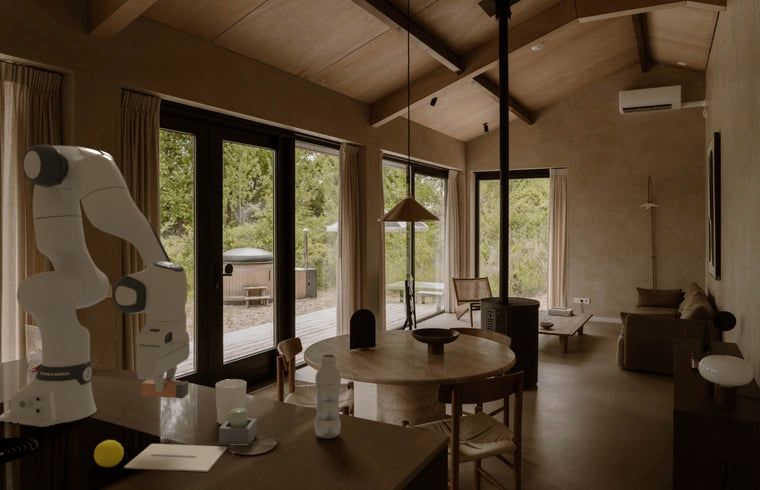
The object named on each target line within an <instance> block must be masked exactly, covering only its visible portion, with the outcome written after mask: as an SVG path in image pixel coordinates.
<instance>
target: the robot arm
mask: <svg viewBox="0 0 760 490" xmlns="http://www.w3.org/2000/svg"><path fill="white" fill-rule="evenodd" d="M22 170H23V173H24V175H25V177H26V179H27V180H28V181H29V182H30V183H32V184H34V186H33V187H34V188H33V194H32V195H33V196H32V216H33V217H32V219H33V225H34V226H33V227H34V234H35V244H36V248H37V250H38V252H39V253H41V254H43V255H44V256H45V257H46V258H47V259H49V261H50V262H51V264H52V266H53V269H54V270H52V271H42V272H39V273H36V274H33V275H30V276H28V277H26V278H24V279H23V280H22V281H21V282H20V283H19V285H18V287H17V291H16V299H17V302H18V304H19V306H20V308H21V309H22V310H23V311H25V313H27V314H29V316H31V317H32V318H33V320H34V321H35V323H36V325H37V327H38V329H39V333H40V338H41V364H39V365H37V366H34V367H32V368H31V370H32V371H31V374H32V373H36V374H35V378H33V379H32V380H30V381H29V382H28V383H27V384H25V385H24V386H23V387H22V388H20V389H19V390H17V391H16V392H15V393H14V394H13V396H12V397H11V400H10V406H9V409H7V410H6V411H5V412H2V414H0V422H2V421H4V422H3V423H9V422H12V423H11V424H17V423H19V424H18V425H24V426H25V425H26V426H32V427H33V426H34V427H43V428H45V426H46V427H50V425H51V426H53V425H58V424H63V423H70V422H75V421H78V420H82V419H84V418H88V417H90V416H92V415H94V414H95V413H96V412H97V406H96V404H95V399H94V395H93V389H92V377H93V376H92V374H93V372H92V371H93V366H92V365H93V363H92V358H91V344H90V343H91V334H90V331H89V330H88V328H86V327H85V326H83V325H81V323H80V321H79V320H78V317H77V310H79V309H84V308H89V307H92V306H94V305H96V304H98V303H100V302H103V301H104V300H105V299H106V298H107V296H108V294H109V293H110V286H111V285H110V281H109V278H108V276H107V275H106V274H105V273H104V272H103V271H101V269H99V268H98V267H97V265H96V264H95V263H94V261H93V259H92V257H91V255H90V253H89V250H88V248H87V244H86V240H85V232H84V226H83V218H82V216H83V215H82V210H81V205H82V208H83V210H84V214H85V216H86V218H87V219H88V221H89V222H90V224H91V225H92V226H94V227H95V228H97V229H98V230H100V231H101V232H104V233H106V234H110V235H113V236H116V237H118V238H120V239H123V240H124V241H127V242H129V243H130V244H131V245H132V246H134V247H135V248H136V250H137V251H138V253H139V255H140V257H141V259H142V262H143V263H144V265H145V267H146V268H144V269H142V270H140V271H137V272H134V273H130V274H126V275H123V276H121V277H120V278H118V280H116V282H115V284H114V287H113V291H112V292H113V293H112V295H113V300H114V301H113V302H114V303H115V306H116V307H117V308H118V310H120V311H121V312H122V313H124V314H131V315H133V314H135V315H136V314H141V313H145V314H146V321H145V324H144V325H143V327H142V329H141V330H140V331H139V332H138V334H136V335H135V344H136V345H138V346H137V349H136V354H135V355H136V356H135V358H136V359H135V361H136V363H135V365H136V368H135V369H136V370H135V371H136V376H137V378H138V379H139V380H144V381H146V380H154V382H155V390H156V391H159V392H161V391H163V390H164V389H165V385H166V382H164V381H175V375H176V372H177V369H178V368H177V367H178V365H181V364H182V363H184V361H187V360H188V359H189V356H190V336H189V333H188V331H187V313H186V305H187V302H188V301H187V300H188V280H187V279H188V277H187V273H186V269H185V268H184V267H183V265H181V264H180V263H179V264H178V263H176V262H172V261H171V259H170V257H169V255H168V252H167V251H166V248H165V247H164V245H163V243H162V241H161V240H160V237H159V235H158V233H157V232H156V230H155V228H154V226H153V224H152V223H151V222H150V220H149V219H148V218H147V217H146V216H145V215H144V214H143V213H142V212H141V210H140V209H139V207H138V206H137V205H136V203H135V201H134V200H133V198H132V196H131V193H130V191H129V188H128V185H127V183H126V181H125V179H124V176H123V174H122V172H121V170H120V168H119V167H118V166H117V164H116V161H115V159H114V157H113V156H112V155H111V154H109V153H108V152H105V151H103V150H100V149H97V148H93V149H92V148H88V147H82V146H77V145H69V146H68V145H52V144H37V145H36V144H35V145H32V146H31V147H29V148H28V149H27V151H26V152H25V154H24V155H23V160H22ZM80 202H81V205H80Z"/></svg>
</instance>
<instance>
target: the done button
mask: <svg viewBox="0 0 760 490" xmlns="http://www.w3.org/2000/svg"><path fill="white" fill-rule="evenodd" d="M247 418H248V409H247V408H245V409H244V408H236V409H233V410H231V411H230V427H244V428H246V427H247Z"/></svg>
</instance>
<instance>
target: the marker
mask: <svg viewBox="0 0 760 490" xmlns="http://www.w3.org/2000/svg"><path fill="white" fill-rule="evenodd" d="M164 382H166V385H165V389H164V390H163V391H161V392H159V391H156V390H155V382H154V380H144V381H142V382H141V385H140V386H141V387H140V388H141V389H140V396H141V397H142V396H143V397H153V398H154V397H156V398H169V399H170V398H172V399H173V398H174V399H184V398H185V397H186V396H187V395H188V394H189V381H186V380H185V381H184V380H181V381H179V380H178V381H177V380H174V381H164Z"/></svg>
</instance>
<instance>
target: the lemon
mask: <svg viewBox="0 0 760 490" xmlns="http://www.w3.org/2000/svg"><path fill="white" fill-rule="evenodd" d="M124 451H125V450H124V447H123V446H122V444H121V443H120V442H118V441H116V440H113V439H106V440H104V441H102V442H100V443H99V444H98V445H97V446H96V447H95V449H94V453H93V458H94V460H95V463H96V464H97V465H98V466H99V467H103V468H112V467H115V466H117V465H118V464H119V463H120V462H121V461H122V460H123V457H124V455H125V452H124Z"/></svg>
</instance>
